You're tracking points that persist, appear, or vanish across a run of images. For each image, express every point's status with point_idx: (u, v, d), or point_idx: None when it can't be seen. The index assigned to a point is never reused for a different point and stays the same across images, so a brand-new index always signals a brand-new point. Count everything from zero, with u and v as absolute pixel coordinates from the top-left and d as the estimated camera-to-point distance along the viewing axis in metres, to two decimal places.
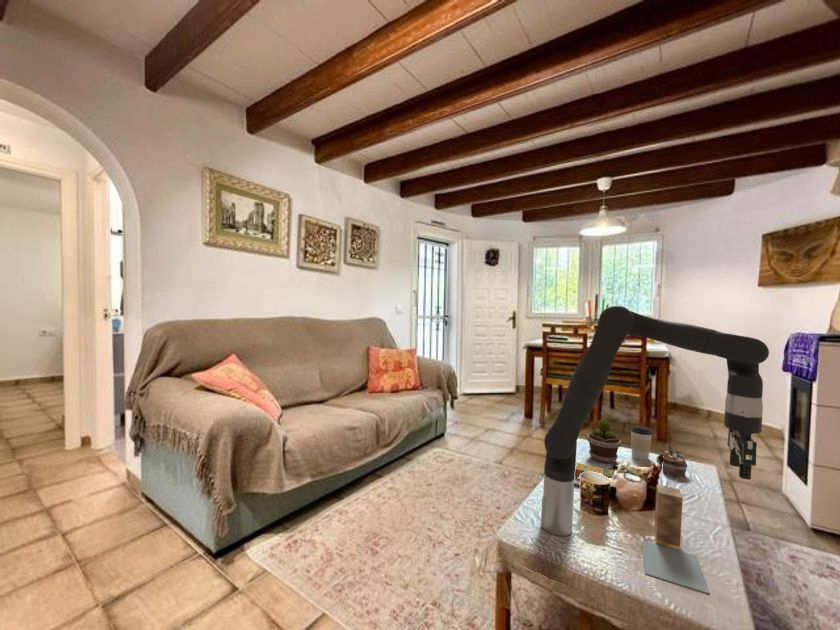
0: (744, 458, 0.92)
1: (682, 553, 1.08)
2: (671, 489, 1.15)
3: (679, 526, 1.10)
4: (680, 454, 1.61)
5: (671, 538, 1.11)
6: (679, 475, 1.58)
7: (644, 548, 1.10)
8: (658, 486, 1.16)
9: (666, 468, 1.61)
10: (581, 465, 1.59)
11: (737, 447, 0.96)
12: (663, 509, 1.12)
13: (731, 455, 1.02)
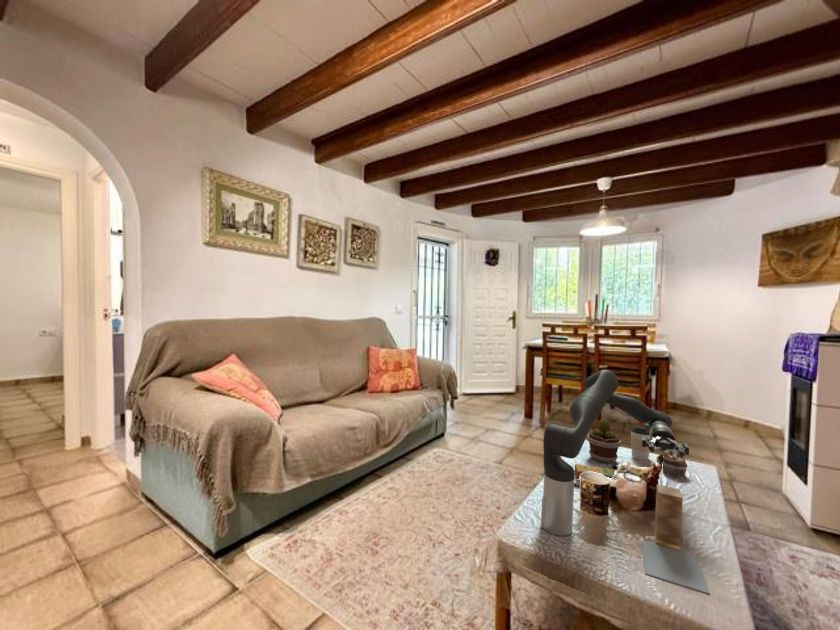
0: None
1: (682, 553, 1.08)
2: (671, 489, 1.15)
3: (679, 526, 1.10)
4: None
5: (671, 538, 1.11)
6: (679, 475, 1.58)
7: (644, 548, 1.10)
8: (658, 486, 1.16)
9: (666, 468, 1.61)
10: (580, 466, 1.58)
11: None
12: (663, 509, 1.12)
13: (653, 444, 1.28)
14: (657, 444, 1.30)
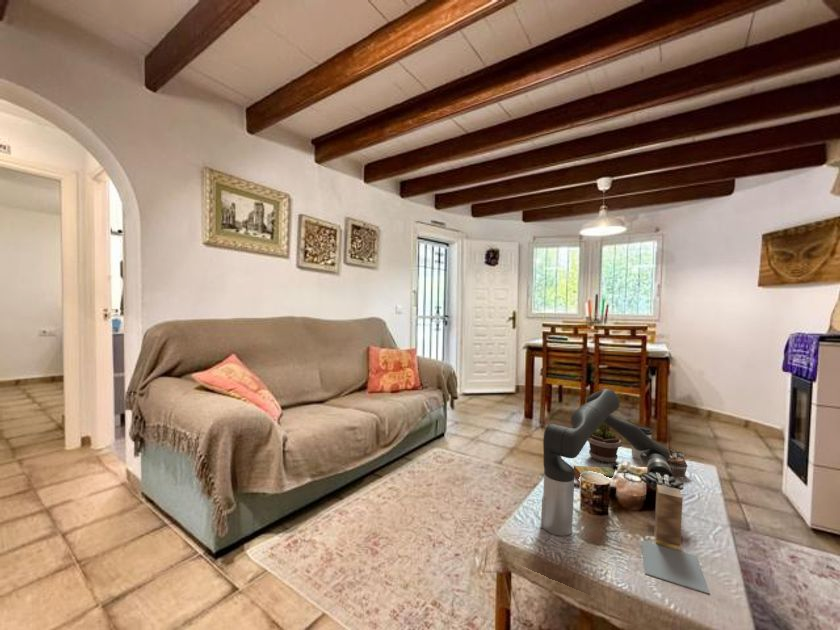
0: (676, 485, 1.24)
1: (682, 553, 1.08)
2: (671, 489, 1.15)
3: (679, 526, 1.10)
4: (680, 454, 1.61)
5: (671, 538, 1.11)
6: (679, 475, 1.58)
7: (644, 548, 1.10)
8: (658, 486, 1.16)
9: None
10: (580, 467, 1.56)
11: (668, 479, 1.27)
12: (663, 509, 1.12)
13: (663, 485, 1.23)
14: None
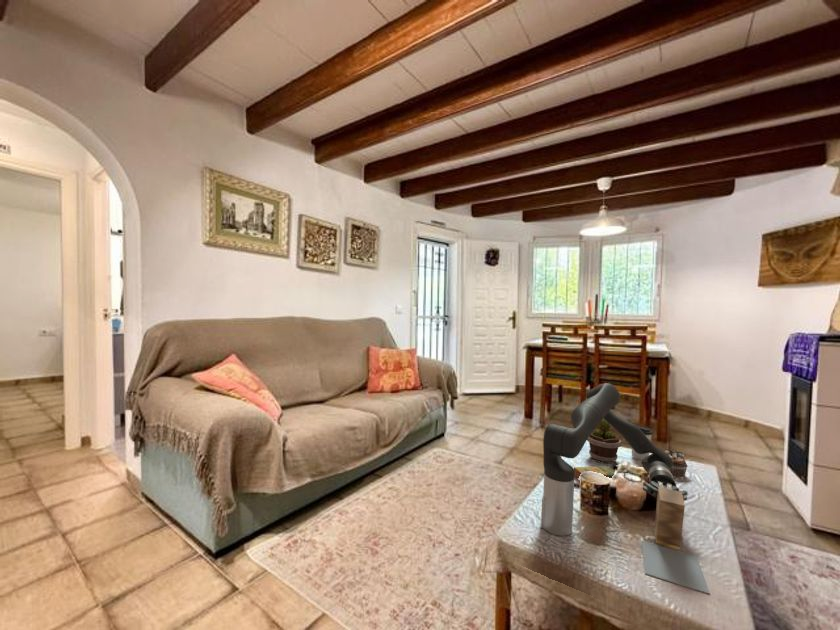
0: None
1: (682, 553, 1.08)
2: (673, 493, 1.11)
3: (680, 530, 1.09)
4: (680, 454, 1.61)
5: (671, 540, 1.10)
6: (679, 475, 1.58)
7: (644, 548, 1.10)
8: (660, 490, 1.13)
9: None
10: (580, 469, 1.55)
11: (671, 488, 1.20)
12: (664, 514, 1.10)
13: None
14: None
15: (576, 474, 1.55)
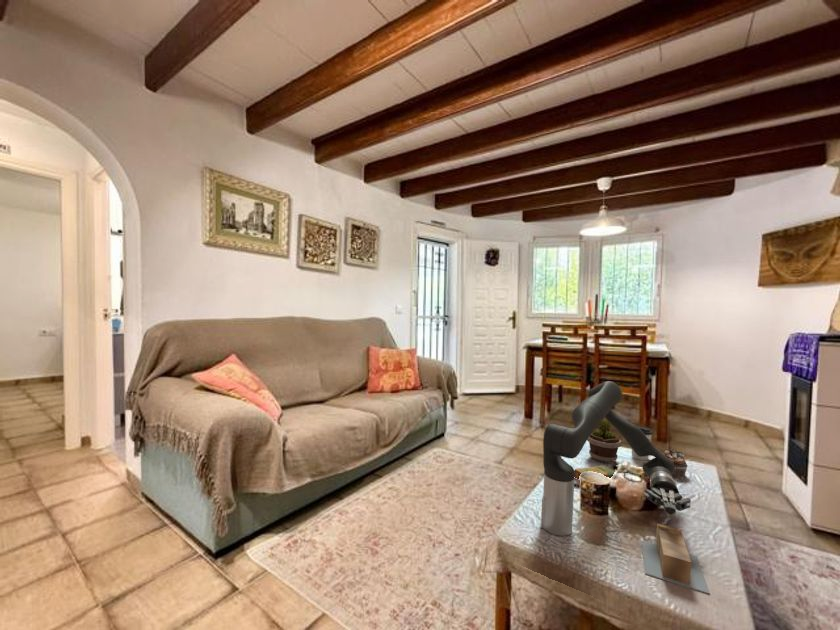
0: (682, 503, 1.12)
1: None
2: (680, 564, 0.97)
3: None
4: (680, 454, 1.61)
5: None
6: (679, 475, 1.58)
7: (644, 548, 1.10)
8: (664, 559, 0.98)
9: None
10: (582, 470, 1.54)
11: (673, 496, 1.15)
12: None
13: (669, 503, 1.12)
14: None
15: (578, 476, 1.53)
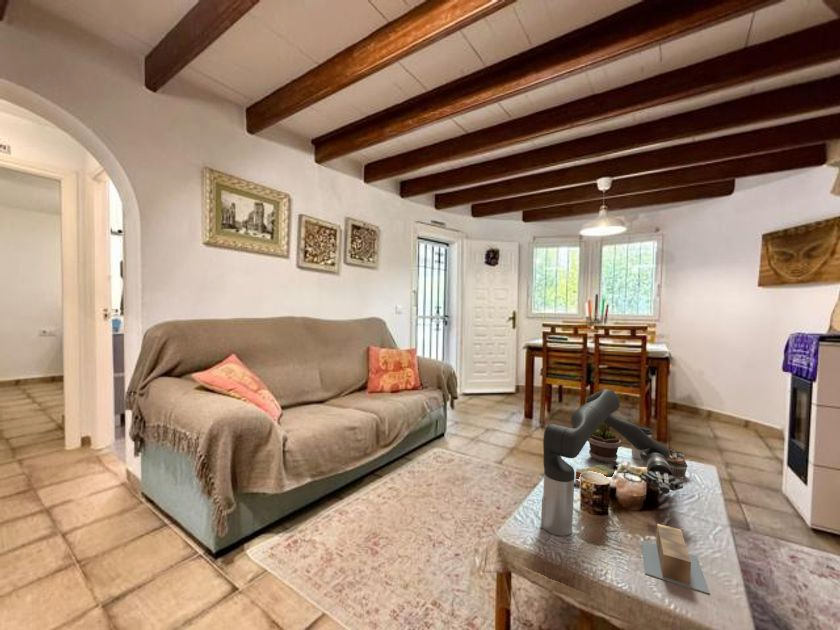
0: (675, 483, 1.25)
1: None
2: (680, 564, 0.97)
3: None
4: (680, 454, 1.61)
5: None
6: (679, 475, 1.58)
7: (644, 548, 1.10)
8: (664, 559, 0.98)
9: None
10: None
11: (668, 478, 1.27)
12: None
13: (663, 484, 1.24)
14: None
15: None
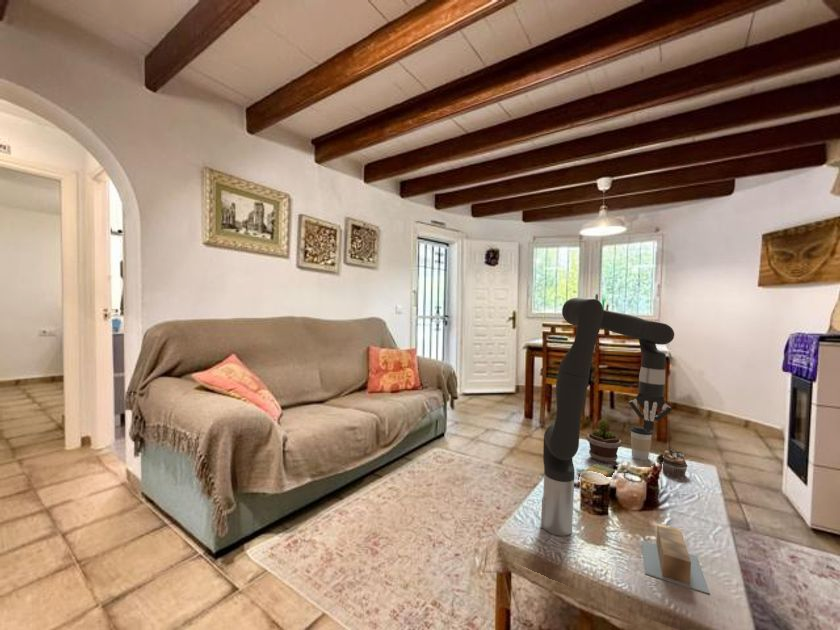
0: None
1: None
2: (680, 564, 0.97)
3: None
4: (680, 454, 1.61)
5: None
6: (679, 475, 1.58)
7: (644, 548, 1.10)
8: (664, 559, 0.98)
9: (666, 468, 1.61)
10: None
11: (655, 410, 1.24)
12: None
13: (648, 423, 1.26)
14: None
15: None
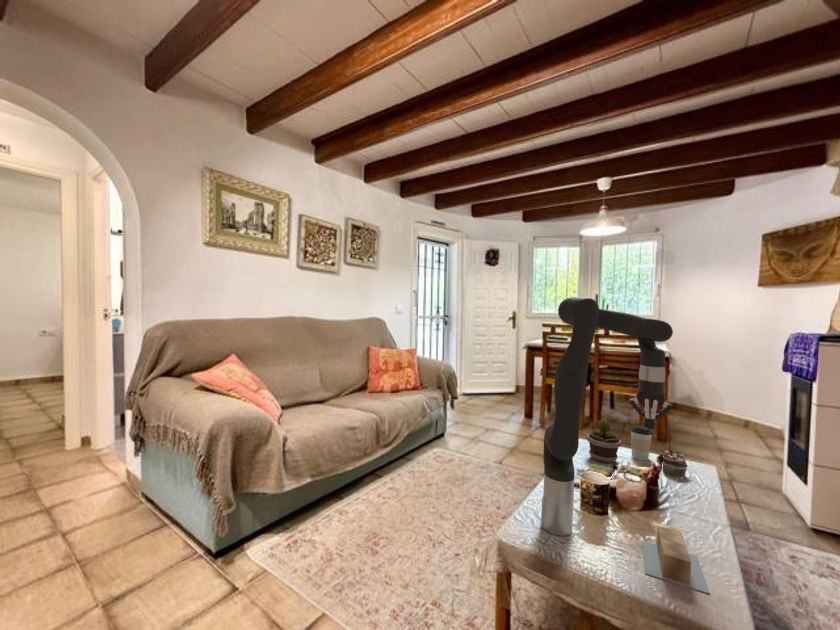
0: None
1: None
2: (680, 564, 0.97)
3: None
4: (680, 454, 1.61)
5: None
6: (679, 475, 1.58)
7: (644, 548, 1.10)
8: (664, 559, 0.98)
9: (666, 468, 1.61)
10: None
11: (656, 408, 1.24)
12: None
13: (649, 421, 1.25)
14: None
15: None
